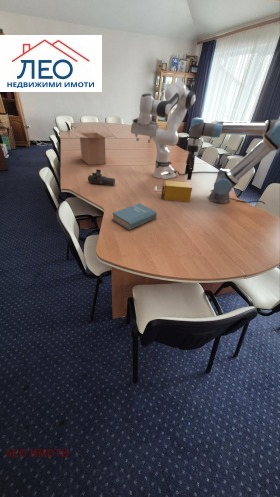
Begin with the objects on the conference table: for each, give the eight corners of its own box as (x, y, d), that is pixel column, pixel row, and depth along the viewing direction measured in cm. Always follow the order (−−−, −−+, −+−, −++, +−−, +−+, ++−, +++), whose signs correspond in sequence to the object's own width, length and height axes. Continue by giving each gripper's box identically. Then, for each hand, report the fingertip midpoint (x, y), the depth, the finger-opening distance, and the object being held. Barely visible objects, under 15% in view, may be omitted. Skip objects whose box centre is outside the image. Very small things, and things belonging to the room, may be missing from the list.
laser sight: (112, 187, 180) (112, 175, 174) (86, 184, 183) (85, 171, 177) (115, 183, 187) (115, 171, 181) (90, 180, 190) (89, 168, 184)
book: (138, 209, 150) (139, 203, 147) (156, 219, 142) (156, 212, 139) (112, 220, 137) (112, 212, 134) (129, 230, 128) (130, 223, 125)
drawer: (153, 197, 168) (155, 185, 162) (154, 192, 175) (155, 181, 170) (185, 199, 167) (187, 188, 162) (184, 195, 175) (186, 183, 169)
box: (116, 165, 229) (116, 136, 213) (83, 168, 214) (80, 137, 198) (102, 154, 259) (101, 128, 243) (71, 156, 244) (68, 129, 228)
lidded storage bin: (163, 199, 167) (165, 185, 161) (163, 194, 176) (165, 180, 170) (189, 201, 167) (192, 187, 160) (187, 196, 175) (190, 182, 169)
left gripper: (159, 122, 159) (157, 143, 167) (133, 118, 165) (132, 139, 173) (157, 122, 154) (154, 144, 162) (130, 119, 160) (129, 140, 168)
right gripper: (185, 140, 157) (180, 171, 170) (190, 148, 137) (184, 182, 150) (196, 141, 157) (190, 171, 170) (202, 149, 137) (195, 182, 150)
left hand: (143, 141), depth 168 cm, fingers open, 8 cm apart
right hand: (187, 176), depth 160 cm, fingers open, 13 cm apart
